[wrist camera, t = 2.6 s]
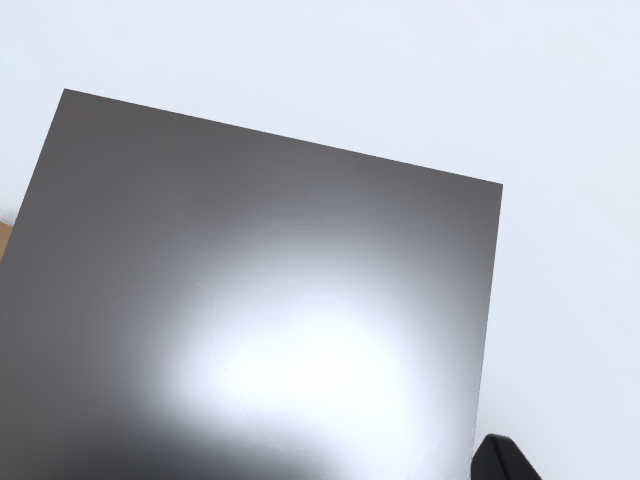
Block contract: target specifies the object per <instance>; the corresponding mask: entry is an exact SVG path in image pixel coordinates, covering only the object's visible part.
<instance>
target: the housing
mask: <svg viewBox="0 0 640 480" xmlns="http://www.w3.org/2000/svg"><path fill="white" fill-rule="evenodd" d="M502 189H503V184H499V183H495V182H490V181H486V180H481V179H476V178H472V177H467V176H463V175H458V174H454V173H449V172H444V171H440V170H435V169H431V168H426V167H422V166H417V165H412V164H408V163H403V162H399V161H394V160H389V159H385V158H380V157H376V156H371V155H367V154H362V153H357V152H353V151H348V150H344V149H339V148H335V147H330V146H325V145H321V144H316V143H312V142H307V141H303V140H298V139H293V138H289V137H284V136H280V135H275V134H271V133H266V132H261V131H257V130H252V129H248V128H243V127H239V126H234V125H229V124H225V123H220V122H216V121H211V120H207V119H202V118H197V117H193V116H188V115H184V114H179V113H175V112H170V111H165V110H161V109H156V108H152V107H147V106H143V105H138V104H133V103H129V102H124V101H120V100H115V99H110V98H106V97H101V96H97V95H92V94H88V93H83V92H78V91H74V90H69V89H65V88H64V91H63V93H62V96H61V99H60V102H59V104H58V107H57V110H56V112H55V115H54V118H53V121H52V123H51V126H50V129H49V131H48V134H47V137H46V140H45V142H44V145H43V148H42V150H41V153H40V156H39V159H38V161H37V164H36V167H35V169H34V172H33V175H32V178H31V180H30V183H29V186H28V189H27V191H26V194H25V197H24V199H23V202H22V205H21V208H20V210H19V213H18V216H17V218H16V221H15V224H14V227H13V229H12V232H11V235H10V237H9V240H8V243H7V246H6V248H5V251H4V254H3V256H2V259H1V262H0V480H469V477H470V468H471V460H472V451H473V442H474V433H475V425H476V416H477V407H478V399H479V390H480V381H481V372H482V364H483V355H484V346H485V338H486V329H487V320H488V311H489V303H490V294H491V285H492V277H493V268H494V259H495V250H496V242H497V233H498V224H499V216H500V207H501V198H502Z"/></svg>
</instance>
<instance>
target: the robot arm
mask: <svg viewBox="0 0 640 480" xmlns="http://www.w3.org/2000/svg"><path fill="white" fill-rule="evenodd" d="M470 470H471V480H542V479H541V477H540V476H539V475H538V473H537V472H536V471H535V469H534V468H533V467H532V465H531V464H530V463H529V461H528V460H527V459H526V457H525V456H524V455H523V453H522V452H521V451H520V449H519V448H518V447H517V445H516V444H515V443H514V441H513V440H512V439H510V438H509V437H506V436H502V435H497V434H488V435H486V437H485V438H484V440H483V441H482V443H481V445H480V446H479V448H478V450H477V451H476V453H475V455H474V456H473V459H472V462H471V469H470Z"/></svg>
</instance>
